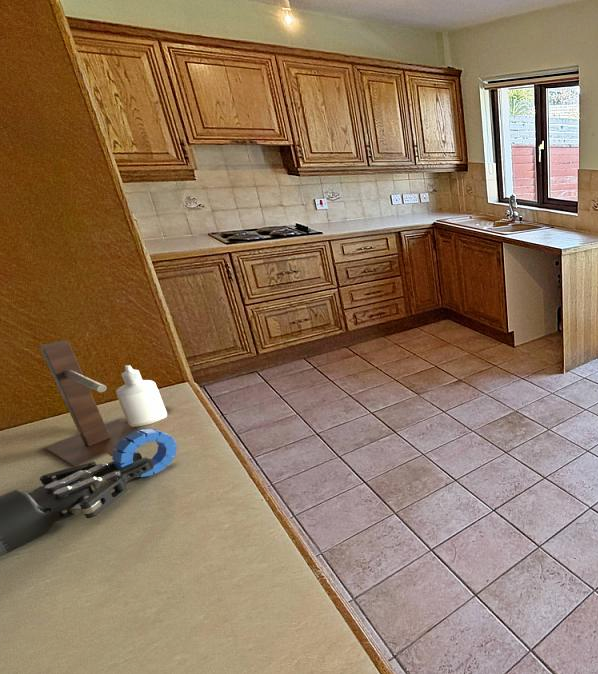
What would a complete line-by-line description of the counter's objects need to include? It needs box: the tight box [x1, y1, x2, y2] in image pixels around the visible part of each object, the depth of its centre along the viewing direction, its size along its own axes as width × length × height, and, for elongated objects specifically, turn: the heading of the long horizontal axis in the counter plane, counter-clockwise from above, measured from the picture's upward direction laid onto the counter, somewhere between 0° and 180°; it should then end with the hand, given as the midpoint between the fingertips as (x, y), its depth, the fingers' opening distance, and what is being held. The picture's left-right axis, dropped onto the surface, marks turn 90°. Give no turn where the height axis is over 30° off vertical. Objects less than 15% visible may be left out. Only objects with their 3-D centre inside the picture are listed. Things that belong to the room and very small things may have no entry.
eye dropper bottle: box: [115, 364, 168, 428], centre depth 90 cm, size 4×6×12 cm
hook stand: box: [38, 339, 140, 467], centre depth 79 cm, size 16×10×20 cm, turn 66°
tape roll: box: [111, 428, 178, 478], centre depth 77 cm, size 2×7×7 cm
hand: (144, 459), depth 77 cm, fingers closed on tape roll, 2 cm apart
